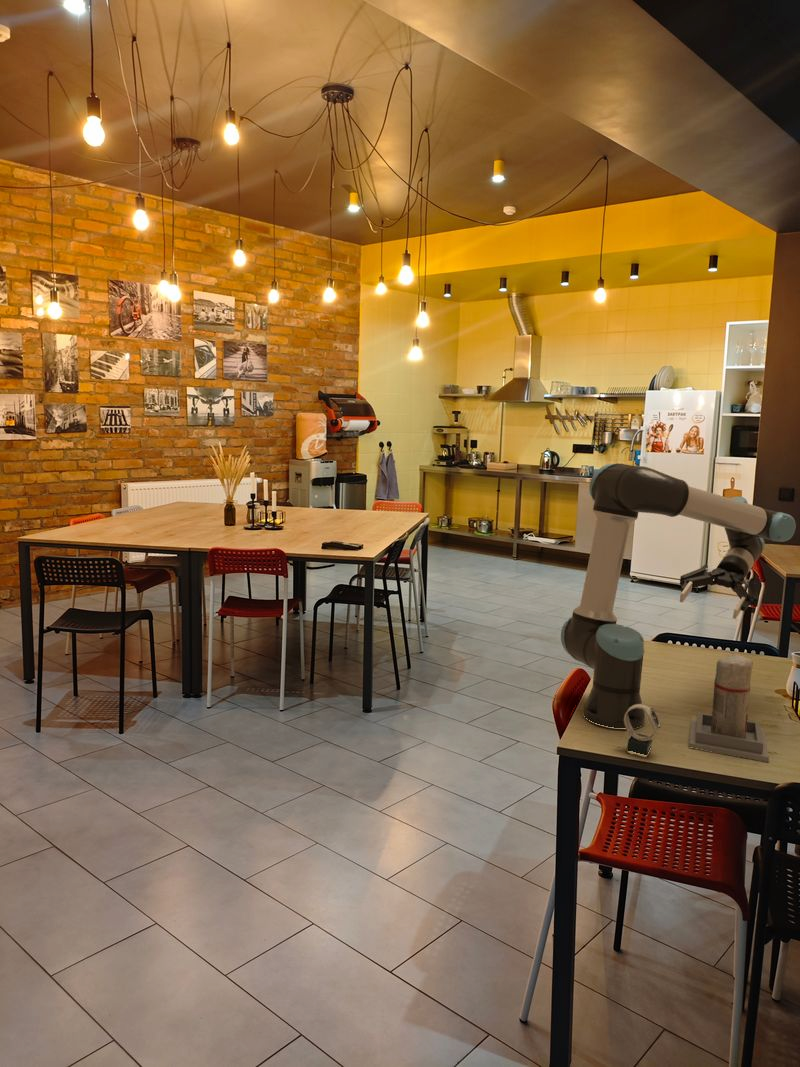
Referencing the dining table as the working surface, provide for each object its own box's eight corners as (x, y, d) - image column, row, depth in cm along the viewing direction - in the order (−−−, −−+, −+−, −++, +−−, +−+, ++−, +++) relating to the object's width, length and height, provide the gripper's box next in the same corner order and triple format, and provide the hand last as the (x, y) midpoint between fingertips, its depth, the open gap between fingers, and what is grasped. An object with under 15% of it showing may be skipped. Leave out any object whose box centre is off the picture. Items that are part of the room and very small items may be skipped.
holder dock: (688, 748, 184) (690, 733, 183) (691, 723, 200) (692, 709, 199) (768, 762, 178) (770, 746, 177) (764, 735, 193) (765, 721, 193)
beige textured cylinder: (741, 747, 183) (750, 664, 180) (705, 737, 188) (713, 656, 185) (750, 736, 190) (759, 656, 187) (715, 727, 194) (723, 649, 192)
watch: (655, 760, 177) (659, 713, 175) (619, 751, 180) (623, 706, 179) (659, 751, 182) (663, 705, 180) (624, 743, 185) (628, 698, 184)
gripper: (780, 591, 211) (756, 633, 197) (688, 565, 224) (659, 603, 211) (785, 568, 207) (760, 609, 193) (691, 543, 221) (661, 580, 207)
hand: (707, 606), depth 202 cm, fingers open, 13 cm apart
